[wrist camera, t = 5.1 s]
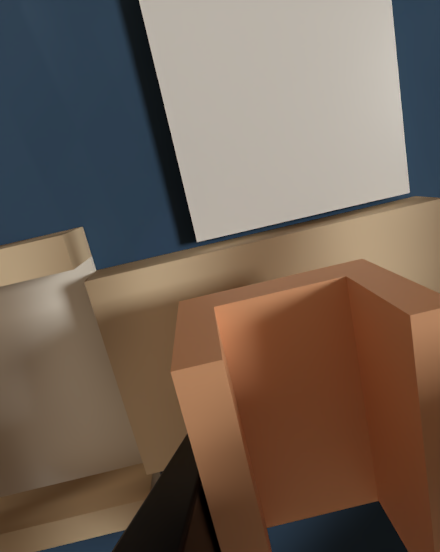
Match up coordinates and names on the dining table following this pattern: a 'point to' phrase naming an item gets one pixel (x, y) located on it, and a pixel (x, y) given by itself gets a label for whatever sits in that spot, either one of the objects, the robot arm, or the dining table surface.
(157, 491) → the robot arm
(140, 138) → the dining table surface
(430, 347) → the clip
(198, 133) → the pad
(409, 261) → the rail
